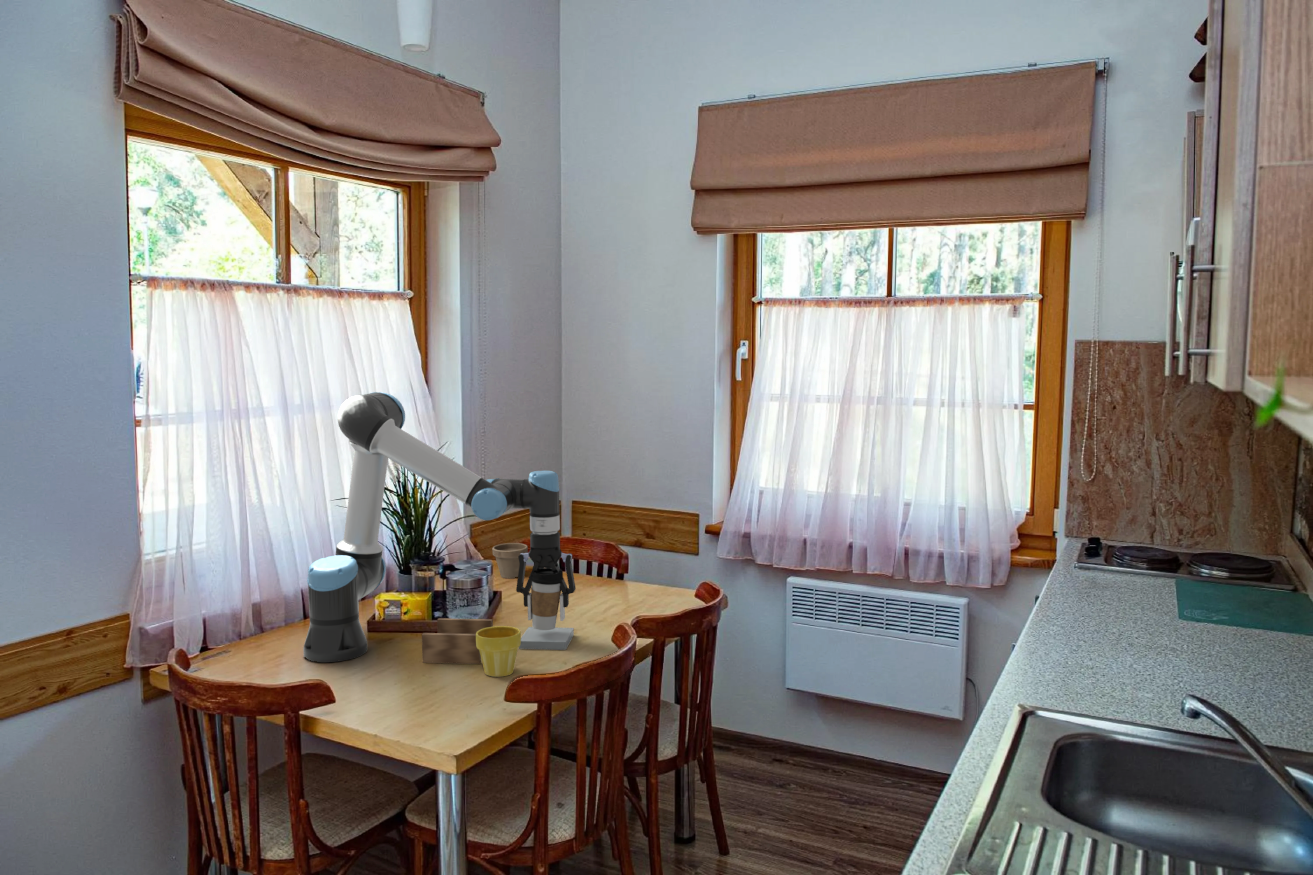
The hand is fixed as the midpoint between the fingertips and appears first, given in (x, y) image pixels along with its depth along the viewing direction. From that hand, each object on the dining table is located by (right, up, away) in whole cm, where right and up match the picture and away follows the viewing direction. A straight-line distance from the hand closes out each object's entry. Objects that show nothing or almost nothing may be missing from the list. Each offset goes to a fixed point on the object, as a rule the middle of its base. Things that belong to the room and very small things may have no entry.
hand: (546, 618), depth 246 cm
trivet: (0, -6, +1) cm, 6 cm away
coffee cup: (-1, -2, 0) cm, 2 cm away
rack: (-21, -7, -9) cm, 24 cm away
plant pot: (-9, -9, -22) cm, 25 cm away
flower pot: (-20, +1, +69) cm, 72 cm away
